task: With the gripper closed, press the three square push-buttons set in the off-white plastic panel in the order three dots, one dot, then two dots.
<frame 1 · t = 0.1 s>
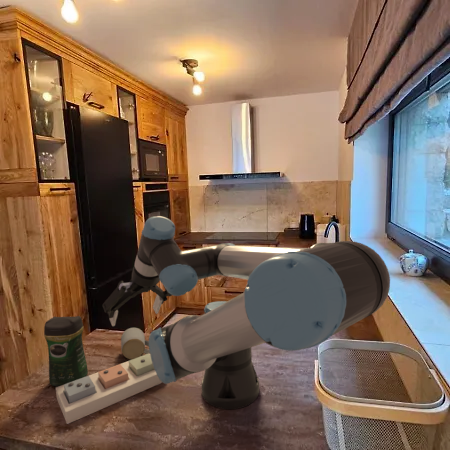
hand: (134, 316, 97), 15 cm above the countertop, tool tilted 35°, fingers open, 13 cm apart
ceramic mug: (138, 354, 105), on the countertop
three-pip button: (79, 390, 81), point 3 cm above the countertop, slide at 0.0 cm
coffee jar: (69, 380, 92), on the countertop
two-pip button: (113, 377, 86), point 3 cm above the countertop, slide at 0.0 cm
button panel: (114, 388, 87), on the countertop
one-pip button: (143, 365, 91), point 3 cm above the countertop, slide at 0.0 cm
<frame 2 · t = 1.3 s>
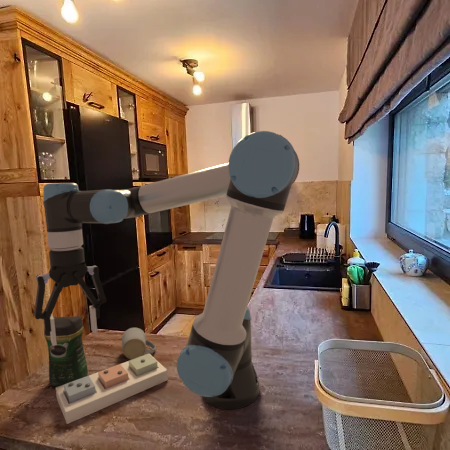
hand: (74, 337, 79), 17 cm above the countertop, tool pointing down, fingers open, 9 cm apart
nothing on the countertop moved.
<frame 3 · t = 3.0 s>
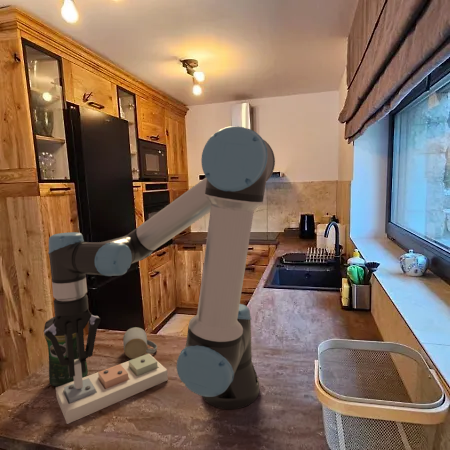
hand: (78, 385, 81), 5 cm above the countertop, tool pointing down, fingers closed
three-pip button: (80, 393, 81), point 3 cm above the countertop, slide at 0.7 cm, touching gripper
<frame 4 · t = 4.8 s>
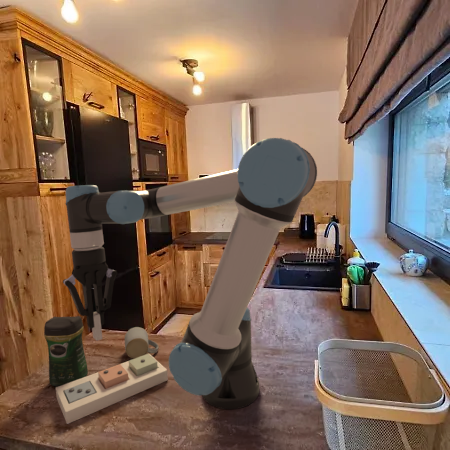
hand: (97, 338, 82), 16 cm above the countertop, tool pointing down, fingers closed
three-pip button: (80, 396, 81), point 2 cm above the countertop, slide at 1.6 cm
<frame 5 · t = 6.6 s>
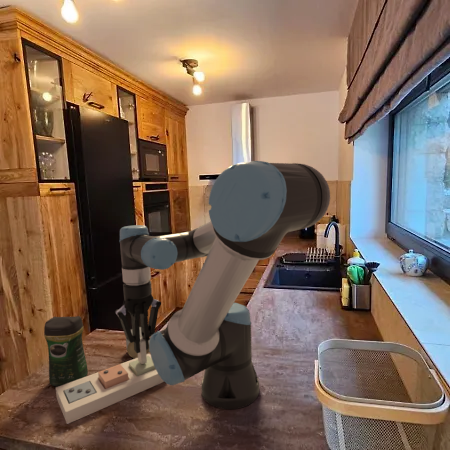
hand: (142, 361, 91), 5 cm above the countertop, tool pointing down, fingers closed
one-pip button: (143, 368, 91), point 3 cm above the countertop, slide at 0.7 cm, touching gripper
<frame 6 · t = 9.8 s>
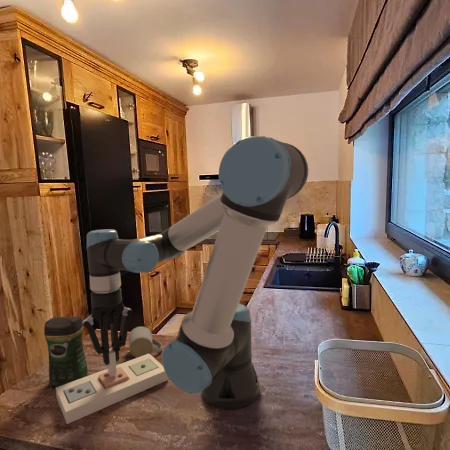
hand: (112, 373, 86), 4 cm above the countertop, tool pointing down, fingers closed
two-pip button: (113, 380, 86), point 2 cm above the countertop, slide at 0.9 cm, touching gripper
one-pip button: (143, 371, 91), point 2 cm above the countertop, slide at 1.6 cm
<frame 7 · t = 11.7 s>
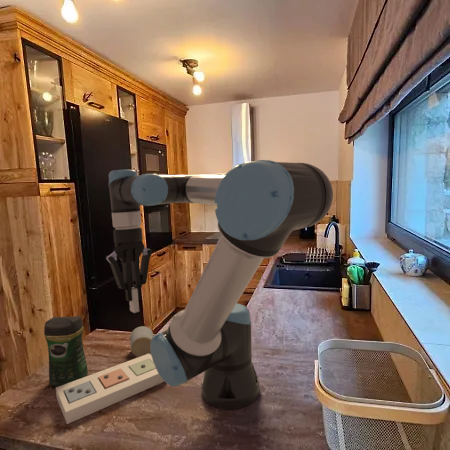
hand: (134, 311, 90), 20 cm above the countertop, tool pointing down, fingers closed
two-pip button: (113, 382, 86), point 2 cm above the countertop, slide at 1.3 cm
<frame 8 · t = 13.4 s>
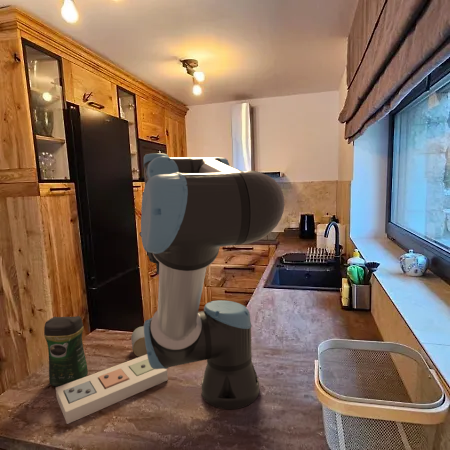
hand: (164, 283, 98), 24 cm above the countertop, tool pointing down, fingers closed
at the end: three-pip button slide at 1.6 cm; one-pip button slide at 1.6 cm; two-pip button slide at 1.3 cm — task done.
